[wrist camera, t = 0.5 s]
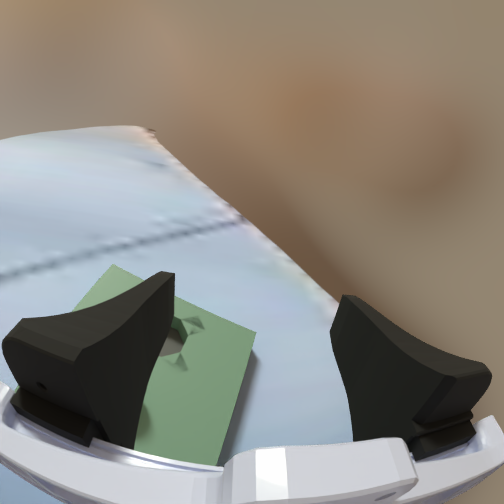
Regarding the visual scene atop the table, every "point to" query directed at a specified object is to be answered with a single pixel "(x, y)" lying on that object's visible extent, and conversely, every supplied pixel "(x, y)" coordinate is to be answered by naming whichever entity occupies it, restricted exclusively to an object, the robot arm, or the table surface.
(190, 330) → the putting board
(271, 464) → the robot arm
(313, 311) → the table surface
